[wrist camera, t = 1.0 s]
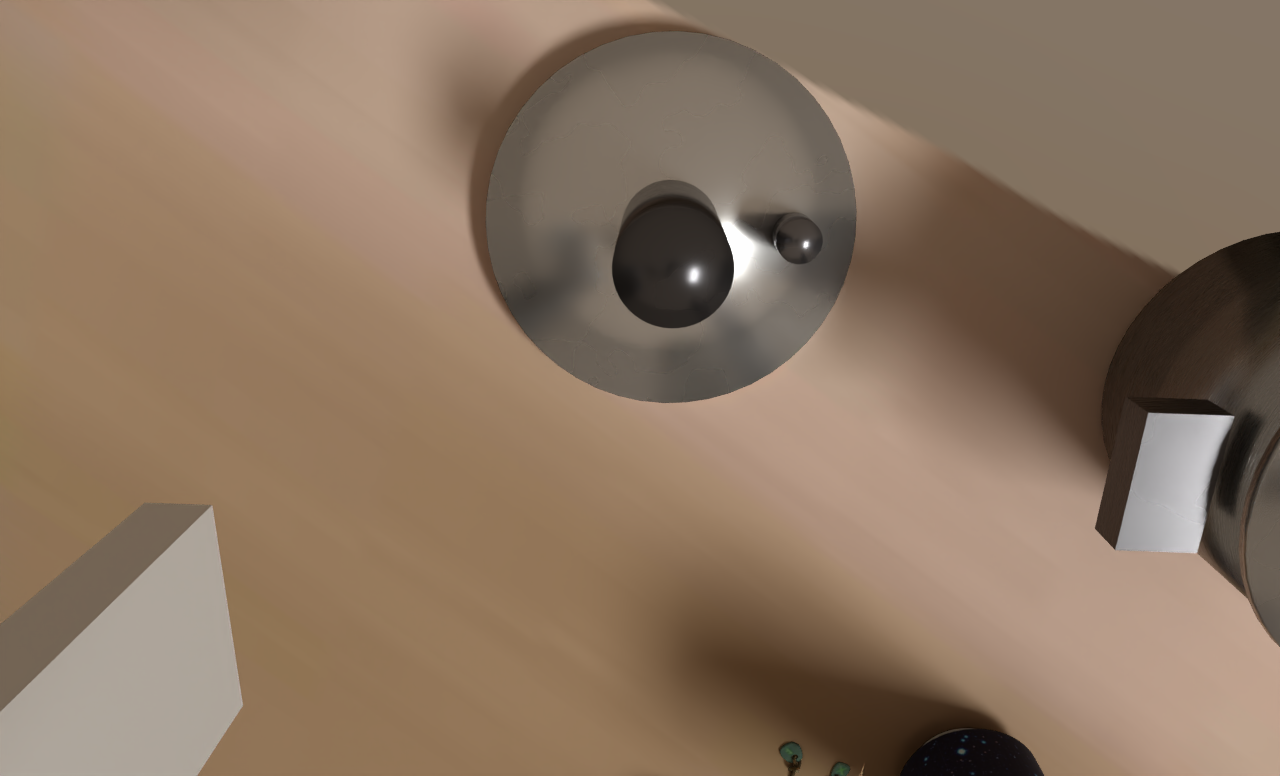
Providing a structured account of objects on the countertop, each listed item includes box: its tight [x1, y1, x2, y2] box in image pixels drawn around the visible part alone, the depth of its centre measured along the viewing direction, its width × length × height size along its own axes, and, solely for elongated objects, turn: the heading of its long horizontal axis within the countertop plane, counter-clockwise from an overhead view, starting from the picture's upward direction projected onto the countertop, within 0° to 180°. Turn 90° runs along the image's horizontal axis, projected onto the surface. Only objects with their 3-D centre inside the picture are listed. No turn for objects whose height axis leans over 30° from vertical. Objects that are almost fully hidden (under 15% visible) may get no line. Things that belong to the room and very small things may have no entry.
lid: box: [486, 31, 856, 403], centre depth 26 cm, size 12×12×7 cm
